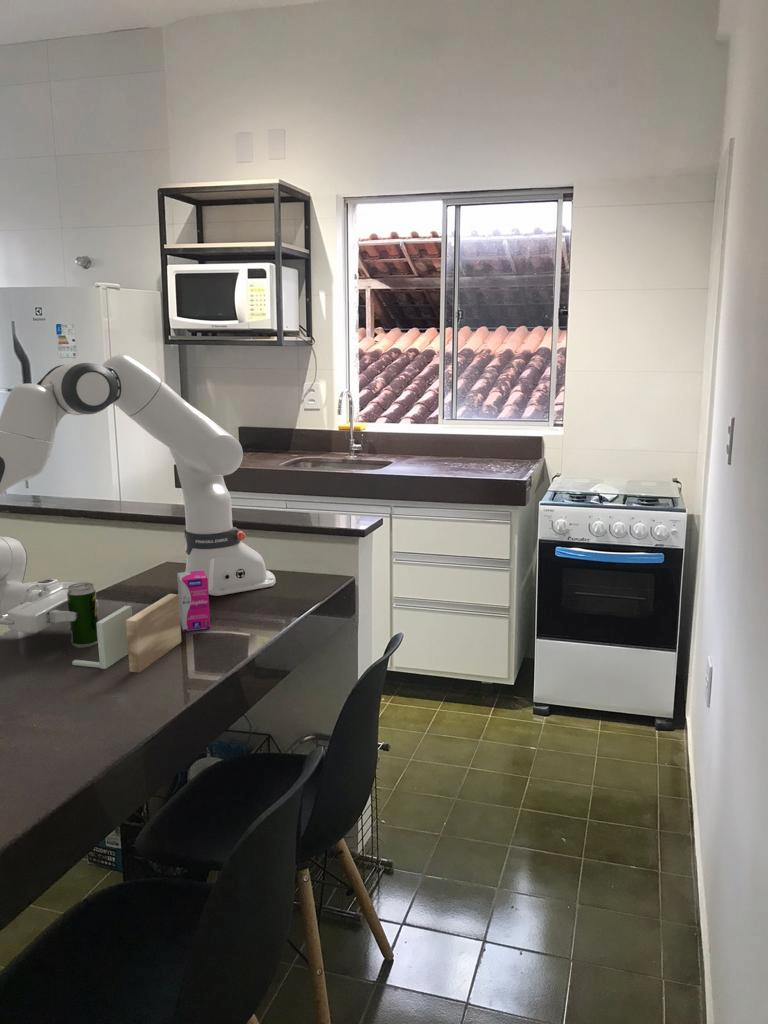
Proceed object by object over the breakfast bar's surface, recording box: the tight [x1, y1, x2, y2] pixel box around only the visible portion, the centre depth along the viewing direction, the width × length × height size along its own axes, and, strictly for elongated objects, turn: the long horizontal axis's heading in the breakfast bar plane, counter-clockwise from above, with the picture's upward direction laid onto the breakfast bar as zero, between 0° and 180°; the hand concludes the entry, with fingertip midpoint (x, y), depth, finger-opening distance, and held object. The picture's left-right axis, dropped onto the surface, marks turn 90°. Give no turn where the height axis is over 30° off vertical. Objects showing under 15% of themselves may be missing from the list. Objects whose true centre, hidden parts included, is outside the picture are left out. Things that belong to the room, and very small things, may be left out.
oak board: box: [126, 593, 182, 673], centre depth 162 cm, size 2×16×10 cm, turn 165°
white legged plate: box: [71, 605, 133, 670], centre depth 162 cm, size 7×10×9 cm
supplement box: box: [176, 571, 211, 632], centre depth 178 cm, size 6×6×12 cm
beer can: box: [67, 582, 99, 648], centre depth 169 cm, size 5×5×12 cm
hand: (86, 610), depth 169 cm, fingers closed on beer can, 5 cm apart
